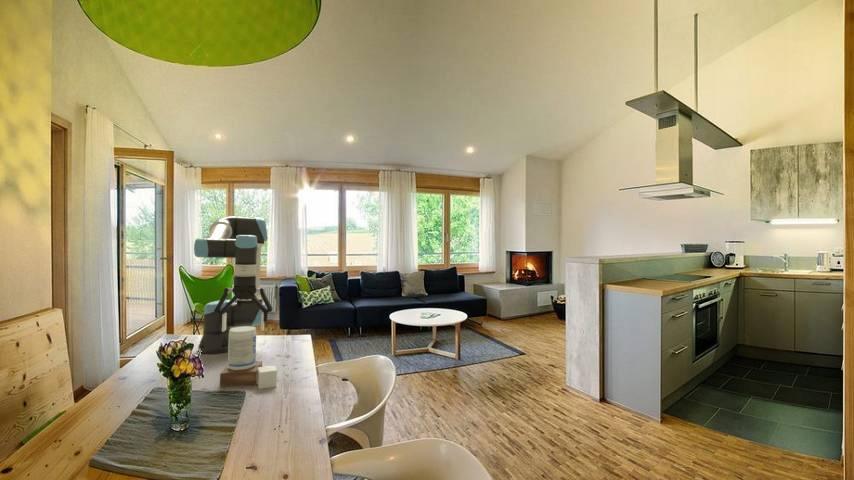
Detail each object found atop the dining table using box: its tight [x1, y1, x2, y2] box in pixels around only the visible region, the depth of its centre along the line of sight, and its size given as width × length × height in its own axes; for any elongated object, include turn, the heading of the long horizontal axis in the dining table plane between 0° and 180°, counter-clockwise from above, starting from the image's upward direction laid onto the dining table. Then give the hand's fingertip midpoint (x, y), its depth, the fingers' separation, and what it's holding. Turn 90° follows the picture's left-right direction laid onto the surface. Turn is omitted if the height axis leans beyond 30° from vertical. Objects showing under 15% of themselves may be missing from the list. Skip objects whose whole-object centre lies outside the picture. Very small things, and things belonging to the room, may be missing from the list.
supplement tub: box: [227, 326, 257, 371], centre depth 142 cm, size 10×10×15 cm
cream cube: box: [256, 365, 278, 390], centre depth 139 cm, size 6×6×6 cm
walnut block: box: [219, 360, 263, 388], centre depth 142 cm, size 12×12×5 cm
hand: (243, 330), depth 143 cm, fingers open, 13 cm apart
